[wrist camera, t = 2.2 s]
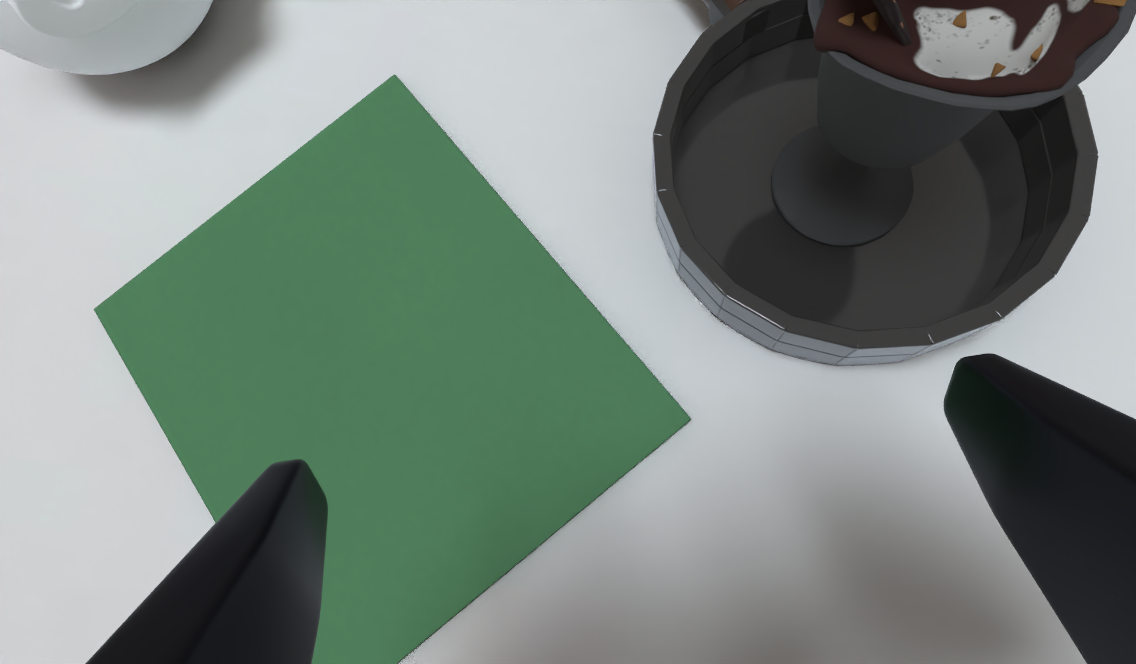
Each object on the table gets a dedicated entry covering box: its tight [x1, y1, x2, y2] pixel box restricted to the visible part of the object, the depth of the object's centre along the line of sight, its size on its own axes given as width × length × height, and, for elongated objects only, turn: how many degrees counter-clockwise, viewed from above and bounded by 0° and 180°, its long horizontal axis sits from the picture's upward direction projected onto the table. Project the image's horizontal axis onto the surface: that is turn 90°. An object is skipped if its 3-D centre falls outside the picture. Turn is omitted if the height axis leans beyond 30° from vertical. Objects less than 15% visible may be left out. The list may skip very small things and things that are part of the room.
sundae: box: [772, 0, 1136, 246], centre depth 16 cm, size 7×7×15 cm
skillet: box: [653, 0, 1098, 365], centre depth 22 cm, size 14×14×3 cm
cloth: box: [94, 75, 691, 664], centre depth 25 cm, size 19×16×1 cm
